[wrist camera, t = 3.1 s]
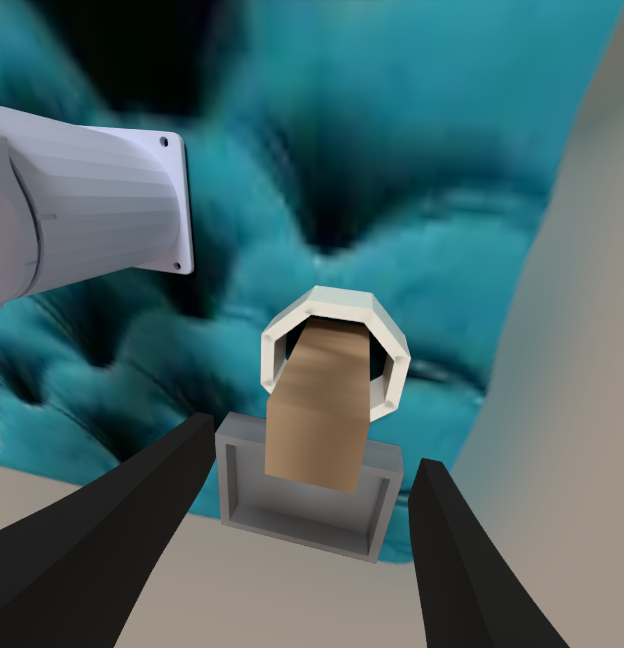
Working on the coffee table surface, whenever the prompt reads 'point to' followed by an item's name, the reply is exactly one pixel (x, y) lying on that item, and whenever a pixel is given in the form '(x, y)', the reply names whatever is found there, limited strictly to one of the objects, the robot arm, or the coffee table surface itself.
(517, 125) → the coffee table surface
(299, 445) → the walnut peg
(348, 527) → the tray
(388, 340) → the white octagonal ring
